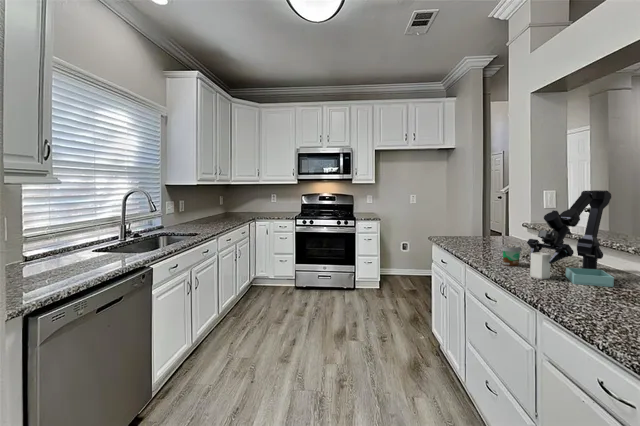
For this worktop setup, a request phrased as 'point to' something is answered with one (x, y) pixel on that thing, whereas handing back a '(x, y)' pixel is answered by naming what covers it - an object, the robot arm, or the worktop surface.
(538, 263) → the white hollow square box
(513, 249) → the food container
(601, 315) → the worktop surface
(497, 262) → the worktop surface
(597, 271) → the crate
